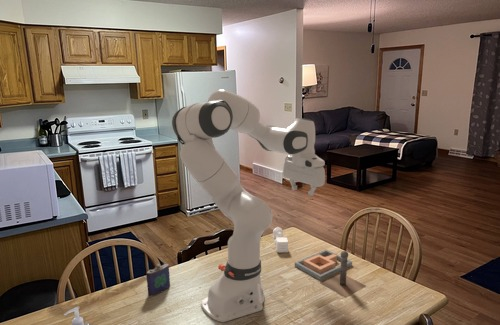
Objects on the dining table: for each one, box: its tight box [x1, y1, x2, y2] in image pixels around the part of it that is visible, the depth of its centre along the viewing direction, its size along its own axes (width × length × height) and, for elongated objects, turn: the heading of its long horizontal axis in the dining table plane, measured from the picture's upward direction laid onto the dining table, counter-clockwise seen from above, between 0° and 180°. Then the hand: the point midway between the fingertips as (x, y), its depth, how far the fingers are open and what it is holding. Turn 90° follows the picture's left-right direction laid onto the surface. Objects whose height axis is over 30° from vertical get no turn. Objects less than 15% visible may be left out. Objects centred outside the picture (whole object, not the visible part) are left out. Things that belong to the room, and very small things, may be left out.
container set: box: [272, 226, 289, 253], centre depth 173 cm, size 20×5×6 cm, turn 3°
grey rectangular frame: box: [294, 249, 353, 281], centre depth 150 cm, size 19×14×3 cm
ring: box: [303, 254, 338, 275], centre depth 149 cm, size 14×9×3 cm, turn 127°
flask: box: [145, 263, 171, 297], centre depth 134 cm, size 9×3×11 cm, turn 138°
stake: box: [319, 250, 367, 298], centre depth 134 cm, size 12×12×15 cm
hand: (302, 192), depth 148 cm, fingers open, 8 cm apart
